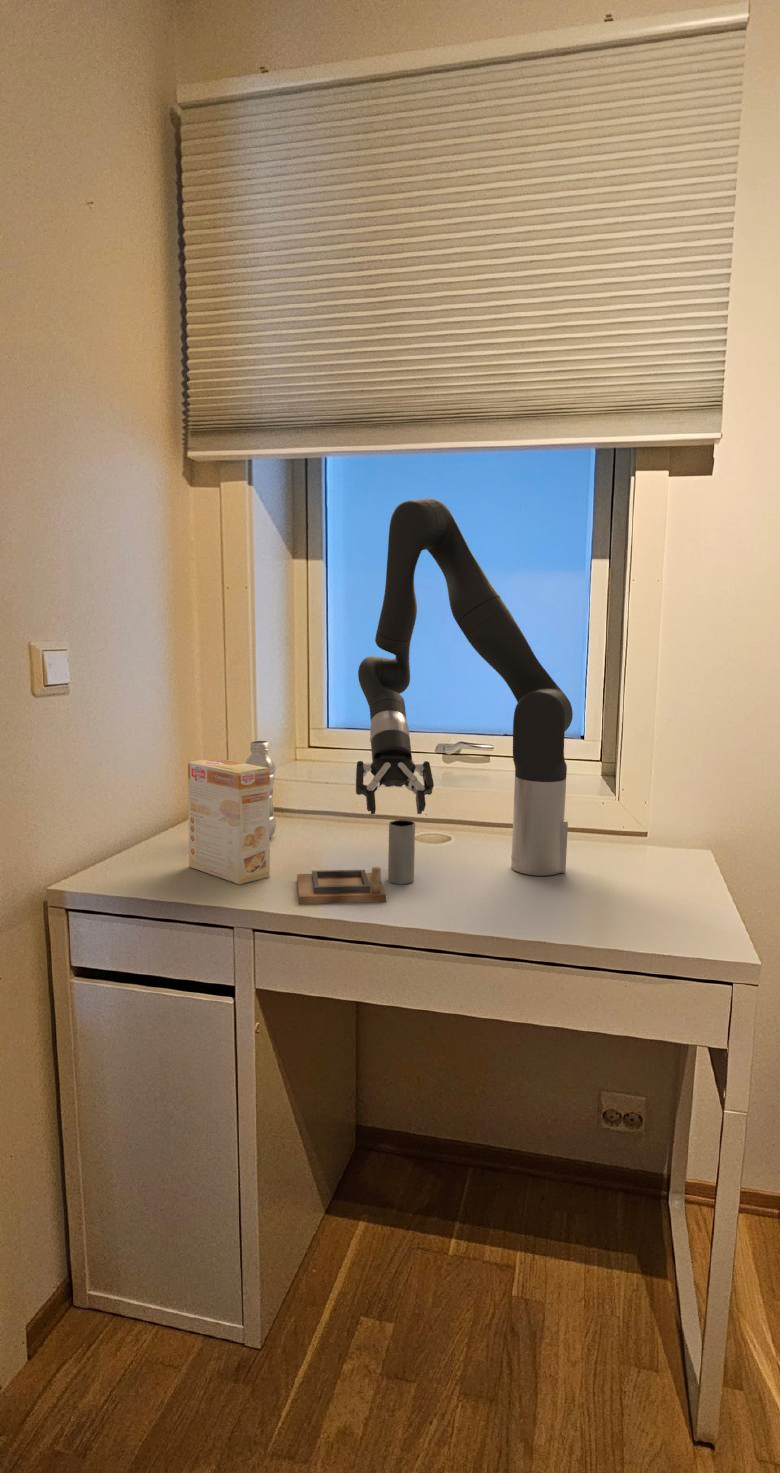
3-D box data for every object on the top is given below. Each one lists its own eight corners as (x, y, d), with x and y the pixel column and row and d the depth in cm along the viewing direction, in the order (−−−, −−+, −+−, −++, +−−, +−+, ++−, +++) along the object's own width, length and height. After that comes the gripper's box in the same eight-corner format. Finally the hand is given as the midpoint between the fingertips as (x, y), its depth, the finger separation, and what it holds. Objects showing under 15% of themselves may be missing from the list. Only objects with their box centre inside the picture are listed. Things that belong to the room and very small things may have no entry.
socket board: (377, 879, 149) (378, 850, 148) (386, 901, 137) (386, 870, 136) (297, 880, 147) (297, 851, 146) (298, 903, 135) (299, 872, 134)
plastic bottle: (282, 837, 176) (282, 741, 173) (261, 844, 170) (260, 745, 167) (258, 832, 179) (258, 738, 176) (236, 839, 173) (236, 742, 170)
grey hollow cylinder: (411, 885, 146) (412, 827, 144) (385, 883, 146) (386, 825, 145) (415, 877, 150) (417, 820, 149) (390, 875, 151) (391, 819, 149)
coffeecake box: (271, 877, 149) (271, 767, 146) (238, 885, 144) (238, 772, 141) (219, 859, 159) (218, 756, 156) (187, 867, 153) (186, 761, 151)
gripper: (354, 727, 159) (359, 801, 149) (429, 728, 161) (438, 800, 151) (351, 751, 165) (356, 823, 155) (424, 751, 167) (432, 822, 157)
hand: (396, 811), depth 153 cm, fingers open, 8 cm apart
